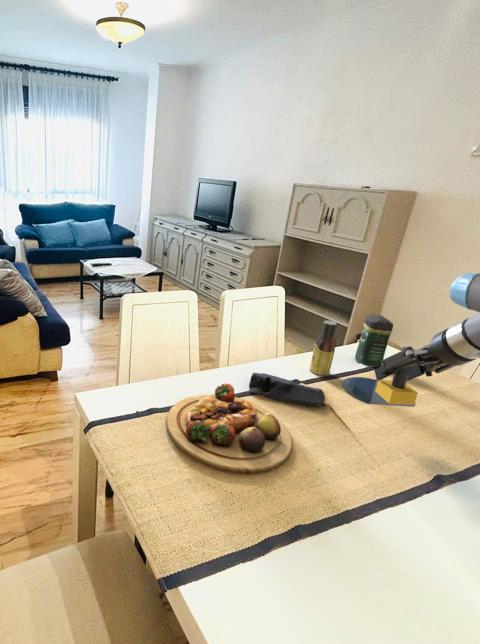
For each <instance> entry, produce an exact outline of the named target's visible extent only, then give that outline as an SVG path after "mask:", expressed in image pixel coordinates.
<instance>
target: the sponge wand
mask: <svg viewBox="0 0 480 644" xmlns="http://www.w3.org/2000/svg"><path fill="white" fill-rule="evenodd" d="M406 347H407V346H403V347H402V348H401V351H403V350H404V349H405V348H406ZM413 350H416V349H415V348H413ZM411 367H412V366H411ZM411 367H408V368H404V369H401V370H398V371H396V373H395V374H393V376H392V379H381V380H378V384H377V387H376V391H375V392H377V393H378V394H379V395H380V396H381V397H382V398H383V399H384V400H386V401H387V402H388V403H389V404H404V405H414V403H415V404H416V400H417V396H418V393H419V392H418V391H416V390H415V389H414V388H412V386H410V385H408V384H407V382H408V381H407V379H408V376H409V373H410V370H411Z"/></svg>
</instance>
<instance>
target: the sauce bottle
mask: <svg viewBox="0 0 480 644" xmlns="http://www.w3.org/2000/svg"><path fill="white" fill-rule="evenodd" d="M337 327H338V323H337V322H336V321H334V320H324V321H323V323H322V330H321V334H319V336H318V337H317V339H316V340H315V342H314V347H313V351H312V355H311V360H310V361H311V362H310V364H309V372H310V373H312V374H313V375H315V376H319V377H327V376H329V374H330V371H331V368H332V364H333V360H334V356H335V351H336V346H337V341H336V338H335V332H336V329H337Z"/></svg>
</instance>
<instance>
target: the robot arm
mask: <svg viewBox="0 0 480 644" xmlns="http://www.w3.org/2000/svg"><path fill="white" fill-rule="evenodd" d="M449 297H450V300H451V301H452V302H453V303H454V304H456V305H458V306H461V307H463V308H465V309H467V310H470V311H474V312H477V313H476V314H474V315H472V316H470V317H467V318H466V319H463V320H462V321H459V322H457V323H455V324H453V325H451V326H450V327H447V328H445V329H444V330H442V331H440V332H437V333H436V334H435V335H434V336H433V337H432V339H431V341H430V343H429V344H427V345H424V346H422V347H420V348H418V349H415V350H413V349H414V348H413V347H412V346H405V347H406V348H405V349H404V350H403V351H402V350H401V351H398V352H396V353H394V354H392V355H390V356H388V357H386V358H383V360H382V365H381V367H376V369H374V370H373V371H374V375H375V380H385V378H388V377H390V376H392V375H394V374H395V373H396V371H398V370H401V369H404V368H408V367H411V366H412V367H411V370H410V373H409V376H408V379H407V382H409V381H411V380H414V379H416V378H419V377H421V376H423V375H425V376H426V377H427V378H429V377H433V373H435V374H440V373H442V372H445V371H448V370H450V369H452V368H454V367H458V366H463V365H466V364H468V363H470V362H473V361H476V360H477V359H480V273H478V272H477V273H474V272H466V273H463V274H460V275H459V276H458V277H457V278H456V279H455V280H453V282H452V284H451V286H450V289H449Z"/></svg>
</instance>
